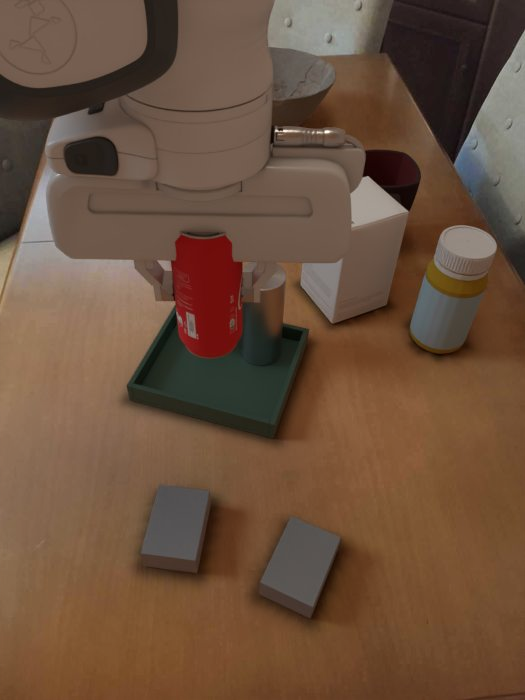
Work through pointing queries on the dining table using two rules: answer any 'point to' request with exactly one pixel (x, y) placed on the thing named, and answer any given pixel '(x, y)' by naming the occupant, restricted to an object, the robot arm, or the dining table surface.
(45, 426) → the dining table surface
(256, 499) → the dining table surface
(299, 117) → the ceramic bowl
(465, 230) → the bottle
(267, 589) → the grey block right
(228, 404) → the can tray
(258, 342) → the silver cans
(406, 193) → the cup
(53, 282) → the dining table surface
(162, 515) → the thick grey tile
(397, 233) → the rectangular carton
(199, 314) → the beverage can
